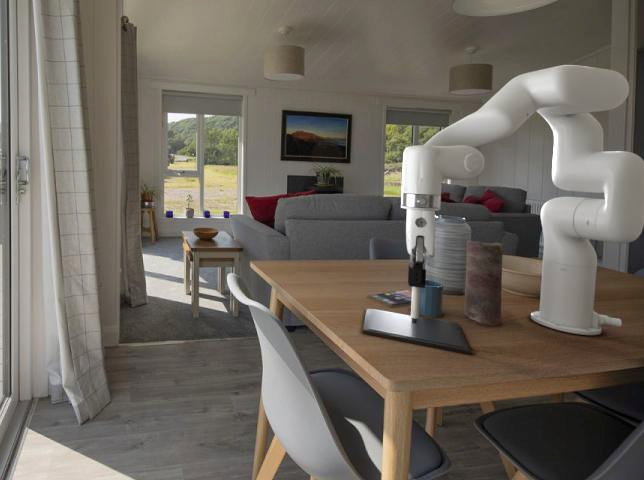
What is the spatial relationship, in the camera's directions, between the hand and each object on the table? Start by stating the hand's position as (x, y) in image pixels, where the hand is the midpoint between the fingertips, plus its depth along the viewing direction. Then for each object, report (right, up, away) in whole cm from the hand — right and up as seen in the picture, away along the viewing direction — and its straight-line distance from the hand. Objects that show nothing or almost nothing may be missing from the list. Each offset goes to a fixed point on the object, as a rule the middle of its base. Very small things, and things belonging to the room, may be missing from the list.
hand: (416, 284), depth 86 cm
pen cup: (+12, -11, +16) cm, 23 cm away
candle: (+23, -12, +12) cm, 29 cm away
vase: (+30, -11, +36) cm, 48 cm away
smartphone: (+10, -11, +26) cm, 30 cm away
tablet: (+2, -12, +5) cm, 13 cm away
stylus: (0, -9, 0) cm, 9 cm away
